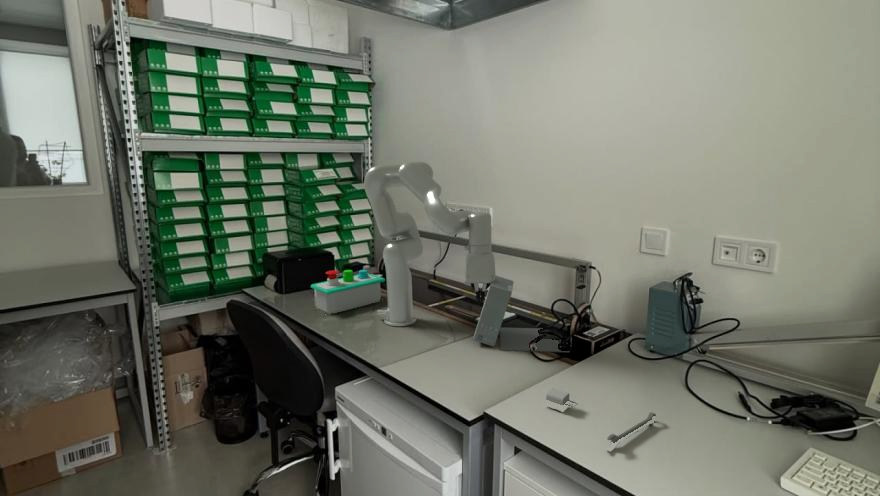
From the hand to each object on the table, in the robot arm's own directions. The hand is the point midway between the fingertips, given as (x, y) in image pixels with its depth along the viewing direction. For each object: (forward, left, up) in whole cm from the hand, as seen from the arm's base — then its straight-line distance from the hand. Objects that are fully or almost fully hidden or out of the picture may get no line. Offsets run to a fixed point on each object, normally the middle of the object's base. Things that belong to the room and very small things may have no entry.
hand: (480, 301), depth 160 cm
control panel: (-57, +34, -14) cm, 68 cm away
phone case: (+6, +20, -14) cm, 25 cm away
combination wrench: (+35, -55, -14) cm, 67 cm away
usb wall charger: (+21, -45, -14) cm, 51 cm away
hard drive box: (+2, 0, -13) cm, 13 cm away
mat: (+18, 0, -13) cm, 22 cm away
